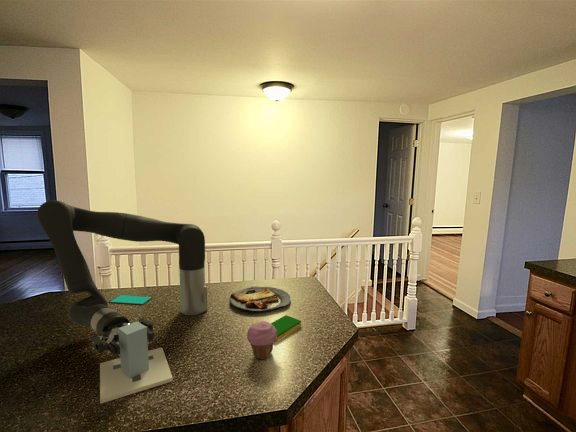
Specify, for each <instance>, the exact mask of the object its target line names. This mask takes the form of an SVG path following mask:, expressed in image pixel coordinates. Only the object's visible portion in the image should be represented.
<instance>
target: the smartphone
mask: <svg viewBox="0 0 576 432" xmlns="http://www.w3.org/2000/svg"><path fill="white" fill-rule="evenodd" d="M152 299H153V296H145V295H144V296H142V295H130V294H129V295H127V294H120V295H118V296H115V297H114V298H113V299H111V300H109V301H108V303H109V304H120V305H124V304H125V305H134V306H145V304H147V303H148V302H149V301H151V300H152Z"/></svg>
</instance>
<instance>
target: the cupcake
mask: <svg viewBox="0 0 576 432" xmlns="http://www.w3.org/2000/svg"><path fill="white" fill-rule="evenodd" d="M246 338H247V341H248V343H249V344H250V346H251V349H252V354H253V357H255V358H257V359H259V360H260V359H261V360H267V359H269V357H270V356H271V354H272V353H273V349H274V343H276V342H275V340H276V338H277V330H276V328H275V327H274V326H273V325H272V324H271V323H270V322H269V321H265V320H261V321H257V322H254V323H252V324H251V325H249V328H247V332H246Z"/></svg>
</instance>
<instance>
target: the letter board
mask: <svg viewBox="0 0 576 432" xmlns="http://www.w3.org/2000/svg"><path fill="white" fill-rule="evenodd" d="M148 360H149V370H147V371H145V372H143V373H141V374H139V375H137V376H135V377H133V378H131V379H130V378H128V377H127V376H126V375H125V374H124V373H123V372H122V371H121V361H120V357H119V358H115V359H111V360H108V361H103V362H100V363H99V391H100V392H99V403H100V404H104V403H107V402H111V401H113V400H116V399H120V398H123V397H126V396H129V395H132V394H136V393H139V392H142V391H145V390H149V389H152V388H156V387H159V386H161V385H165V384H168V383H171V382H173V380H174V379H173V375H172V371H171V369H170V366H169V364H168V363H169V362H168V361H167V358H166V354H165V352H164V350H163V347H158V348H154V349H151V350H148Z"/></svg>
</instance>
